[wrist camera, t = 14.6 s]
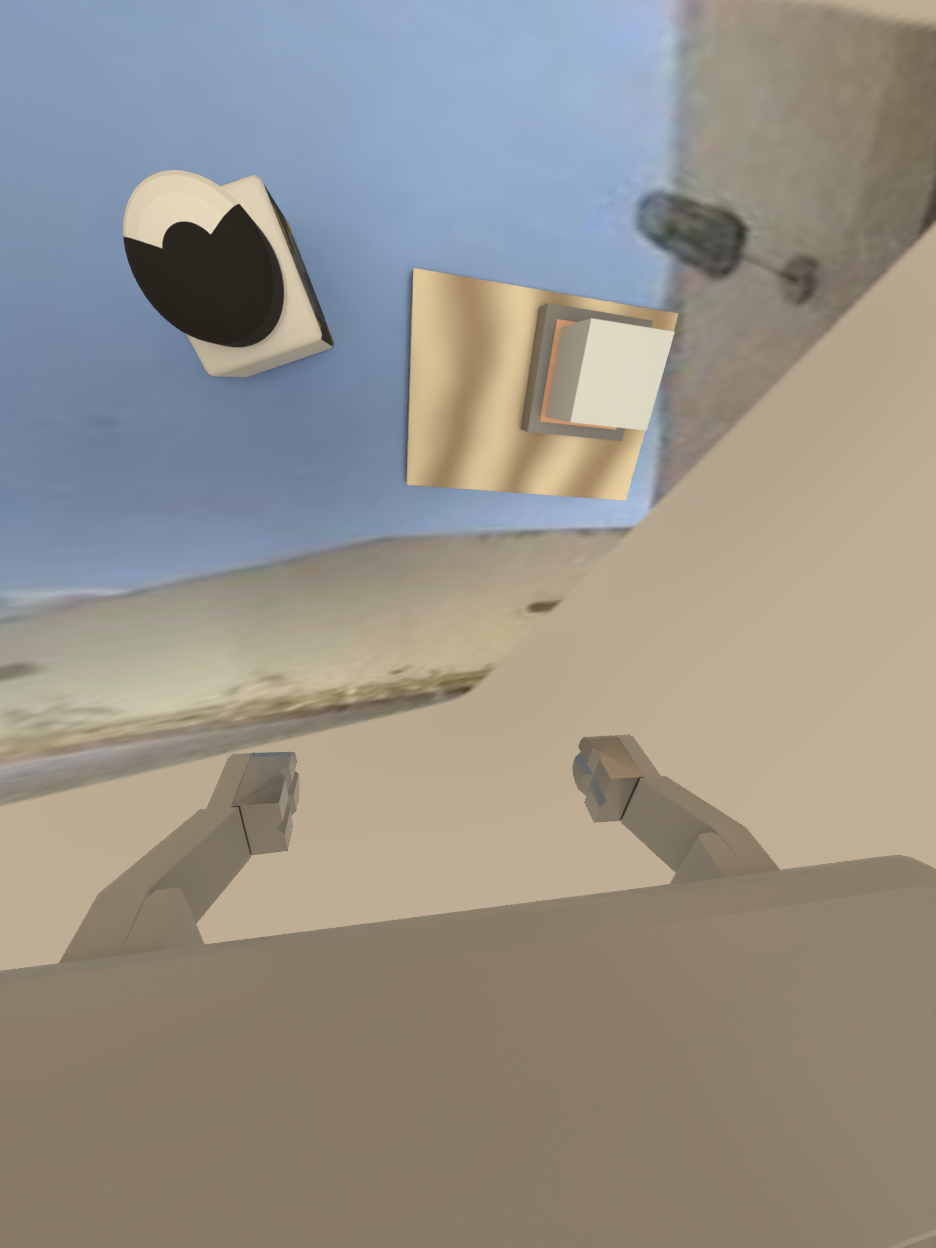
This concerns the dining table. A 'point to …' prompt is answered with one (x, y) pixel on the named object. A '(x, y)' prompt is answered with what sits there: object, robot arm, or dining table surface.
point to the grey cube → (608, 373)
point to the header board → (506, 391)
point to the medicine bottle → (224, 271)
